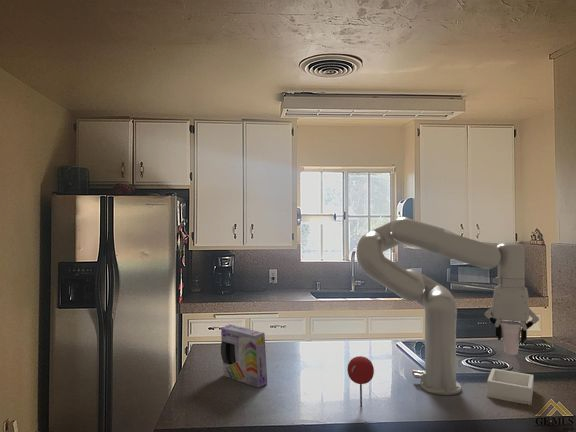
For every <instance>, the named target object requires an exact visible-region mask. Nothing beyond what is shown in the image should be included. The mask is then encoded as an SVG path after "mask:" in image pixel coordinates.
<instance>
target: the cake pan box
mask: <svg viewBox="0 0 576 432" xmlns="http://www.w3.org/2000/svg"><path fill="white" fill-rule="evenodd" d="M220 335H221V336H220V337H221V343H220V355H221V360H222V371H223V376H224V377H228V378H230V379H232V380H235V381H239V382H241V383H244V384H247V385H249V386H252V387H256V388H261V387H264V386H266V385H268V373H267V370H268V369H267V355H266V354H267V352H266V337H265V335H266V333H265V332H262V331H258V330H254V329H251V328H247V327H242V326H237V325H233V324H227V325H225V326H222V327H220Z"/></svg>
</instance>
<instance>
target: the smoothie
mask: <svg viewBox="0 0 576 432" xmlns="http://www.w3.org/2000/svg"><path fill="white" fill-rule="evenodd" d="M500 325H501V330H502V337H501V338H502V342H503V350H504V351H503V352H504V353H505V354H507V355H512V356H517V355H518V353H519V347H520V342H521V329H522V325H521V323H520V322H519V321H510V320H501V322H500Z"/></svg>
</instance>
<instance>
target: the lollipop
mask: <svg viewBox="0 0 576 432" xmlns="http://www.w3.org/2000/svg"><path fill="white" fill-rule="evenodd" d="M347 374H348V375H347V376H348V378H349V379H350V380H351V381H352V382H353V383H355V384H356V385H357V384H358V385H359V396H360V397H359V402H360V405H359V408H360V407H362V408H363V392H362V391H363V389H362V388H363V386H362V385H366V384H368V383H369V382H370V381H372V379H373V377H374V376H375V375H374V374H375V369H374V365H373V363H372V361H371V360H370V359H369V358H368V357H366V356H363V355H362V356H358V355H357V356H355V357H353V358H351V359H350V360H349V362H348V364H347Z"/></svg>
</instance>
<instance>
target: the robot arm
mask: <svg viewBox="0 0 576 432" xmlns="http://www.w3.org/2000/svg"><path fill="white" fill-rule="evenodd" d="M400 244H403V245H405V246H407V247H411V248H416V249H419V250H423V251H425V252H429V253H432V254H435V255H438V256H441V257H445V258H449V259H452V260H455V261H457V262H460V263H461V262H462V263H463V264H466V265H470V266H474V267H476V268H477V267H478V268H481V269H486V270H490V269H494V268H496V267H497V277H493V278H492V283H495V284H497V285H495V286H494V290H493V294H492V295H493V298H492V299H493V300H492V306H491V307H489V308H488V309H487V310H486V311H485V312H484V314H483V315H484V316H485V317H486V318H487V319H488V320H489V321H490V322H491V324H492V325H494V327H495V337H497V340H498V341H501V340H502V338H503V337H502V330H501V325H500V322H501V320H510V321H519V322H520V323H521V325H522V327H521V333H520V343H521V344H524V343H525V341H527V339H528V338H527V335H528V334H527V333H528V332H527V331H528V329H530V328H531V327H532V326H534V325H535V324H536V323H538V322H539V321H540V318H539V316H538V315H537V314H536V313H534V311H532V309H531V308H530V299H529V291H528V288H527V287H525V284H526V283H525V273H526V272H525V271H526V270H525V269H526V268H525V265H526V264H525V262H526V261H525V257H526V255H525V254H526V253H525V247H524V245H523V244H522V243H517V242H502V243H498V242H497V243H496V242H489V241H478V240H475V239H472V238H468V237H466V236H462V235H460V234H457V233H456V232H455V233H454V232H452V231H451V230H450V229H445V228H443V227H439V226H435V225H432V224H428V223H425V222H423V221H422V222H421V221H418V220H414V219H411V218H409V217H406V216H399V217H397V218H395V219H393V220H391V221H389V222H387V223H385V224H383V225H381V226H378V227H376V228H375V229H372V230H370V231H368V232H366V233H365V234H363V235H362V236H361V237H360V238H359V240H358V242H357V248H356V258H357V262H358V265H359V267H360V269H361V270H362V271H363V273H365V274H366V275H367V276H368V277H369V278H370V279H372V280H373V281H375V282H377V283H378V284H380V285H382V286H383V287H384V288H386V289H387V290H389V291H390V292H392V293H394V294H396V295H397V296H399V297H400V298H401V299H403V300H405V301H407V302H416V303H417V304H420V305H421V306H423V307H424V370H419V369H412V371H411V374H412V376H413V378H414V379H421V380H420V382H419V384H420V387H421V389H422V390H424V391H426V392H428V393H431V394H434V395H440V396H452V395H454V396H455V395H457V394H460V393H461V391H462V385H461V384H460V383H459V382H458V381H457V336H456V335H457V318H458V317H457V316H458V309H457V302H456V300H455V298H454V295H453V294H452V293H451V291H450V290H449V289H448V288H447V287H445V286H443V285H442V284H440V283H439V282H437V281H435V280H433V279H432V278H430V277H429V276H427V275H425V274H423V273H422V272H420V271H417V270H415V269H411V268H410V269H409V268H407V269H406V268H404V267H402V266H400V265H399V264H398V263H396V262H394V261H392V260H390V259H389V258H387V257H386V256H385V255H384V252H386V251H388V250H391V249H392V248H394V247H397V246H399V245H400ZM530 317H531V320H529V319H530Z"/></svg>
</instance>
